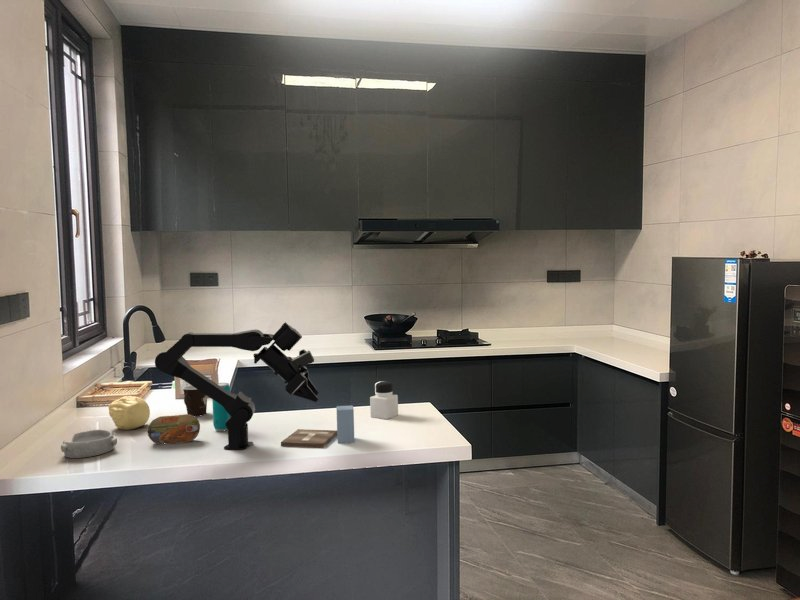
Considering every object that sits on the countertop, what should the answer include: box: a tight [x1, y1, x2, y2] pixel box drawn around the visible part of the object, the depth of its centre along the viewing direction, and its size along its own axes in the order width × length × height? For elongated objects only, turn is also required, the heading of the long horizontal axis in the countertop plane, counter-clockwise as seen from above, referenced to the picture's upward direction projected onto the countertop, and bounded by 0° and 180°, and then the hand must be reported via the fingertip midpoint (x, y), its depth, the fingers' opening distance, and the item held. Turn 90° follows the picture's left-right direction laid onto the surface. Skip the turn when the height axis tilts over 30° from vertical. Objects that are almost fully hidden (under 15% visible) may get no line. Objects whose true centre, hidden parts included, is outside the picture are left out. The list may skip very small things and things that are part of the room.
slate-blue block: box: [336, 405, 355, 444], centre depth 186 cm, size 5×5×10 cm
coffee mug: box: [182, 385, 208, 417], centre depth 222 cm, size 12×9×10 cm
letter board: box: [280, 428, 337, 449], centre depth 187 cm, size 14×13×1 cm
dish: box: [60, 429, 118, 459], centre depth 181 cm, size 14×14×5 cm
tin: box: [147, 413, 201, 445], centre depth 188 cm, size 15×3×8 cm, turn 101°
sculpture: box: [108, 395, 151, 431], centre depth 207 cm, size 12×12×11 cm
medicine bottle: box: [369, 380, 399, 420], centre depth 214 cm, size 7×7×12 cm
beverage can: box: [211, 382, 231, 432], centre depth 201 cm, size 6×6×15 cm
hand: (317, 397), depth 184 cm, fingers open, 9 cm apart
